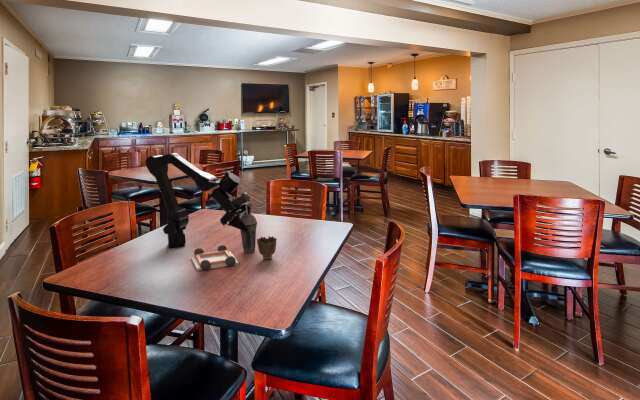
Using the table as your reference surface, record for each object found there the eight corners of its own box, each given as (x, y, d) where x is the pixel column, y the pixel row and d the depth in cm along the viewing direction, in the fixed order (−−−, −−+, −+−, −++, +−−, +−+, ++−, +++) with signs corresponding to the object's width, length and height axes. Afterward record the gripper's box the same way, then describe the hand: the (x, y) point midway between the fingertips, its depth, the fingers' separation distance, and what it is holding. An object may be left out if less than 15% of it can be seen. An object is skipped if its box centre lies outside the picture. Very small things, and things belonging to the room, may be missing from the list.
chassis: (197, 271, 148) (196, 262, 147) (191, 258, 163) (190, 249, 162) (239, 265, 154) (238, 255, 153) (229, 252, 169) (229, 243, 168)
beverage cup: (260, 248, 173) (258, 201, 169) (255, 254, 166) (253, 205, 162) (243, 248, 173) (240, 201, 170) (237, 254, 166) (235, 204, 163)
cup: (277, 255, 164) (277, 235, 163) (276, 261, 157) (275, 241, 155) (258, 255, 164) (257, 236, 162) (256, 262, 157) (255, 241, 155)
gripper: (225, 191, 157) (254, 221, 156) (247, 183, 174) (272, 210, 173) (208, 210, 160) (236, 240, 159) (231, 201, 178) (256, 227, 177)
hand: (251, 228), depth 167 cm, fingers closed on beverage cup, 7 cm apart
